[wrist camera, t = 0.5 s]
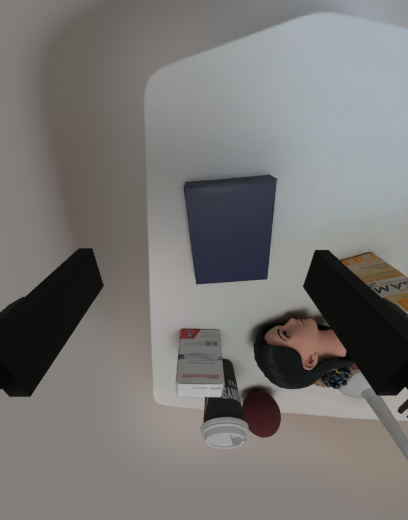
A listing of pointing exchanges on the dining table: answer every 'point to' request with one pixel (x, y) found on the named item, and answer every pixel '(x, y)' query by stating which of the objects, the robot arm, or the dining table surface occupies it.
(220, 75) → the dining table surface
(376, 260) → the supplement box
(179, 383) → the ink box
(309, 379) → the head
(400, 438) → the candlestick
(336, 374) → the pastry
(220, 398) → the coffee cup
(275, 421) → the decorative ball
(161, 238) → the dining table surface
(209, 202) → the book
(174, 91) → the dining table surface
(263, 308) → the dining table surface
